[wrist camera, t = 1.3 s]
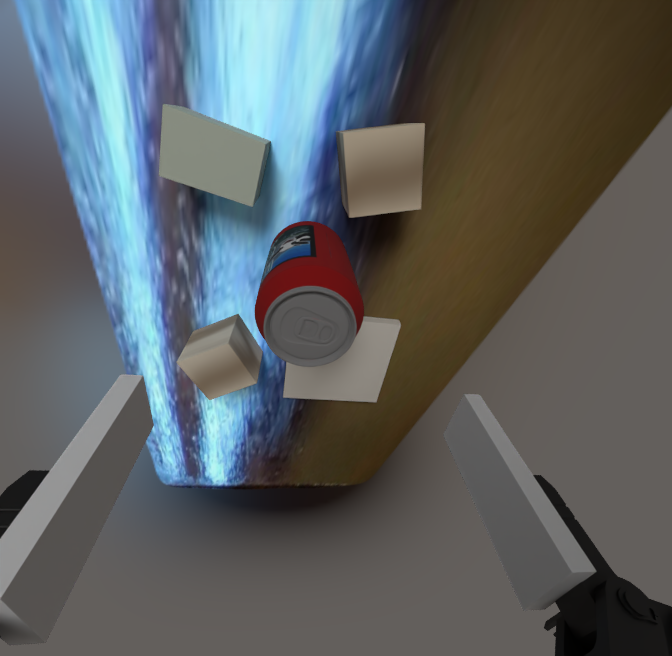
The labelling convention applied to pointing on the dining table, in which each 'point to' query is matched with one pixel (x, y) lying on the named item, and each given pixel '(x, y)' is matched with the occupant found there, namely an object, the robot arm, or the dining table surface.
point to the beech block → (381, 168)
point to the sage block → (211, 155)
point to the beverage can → (308, 296)
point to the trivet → (348, 367)
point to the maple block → (222, 357)
